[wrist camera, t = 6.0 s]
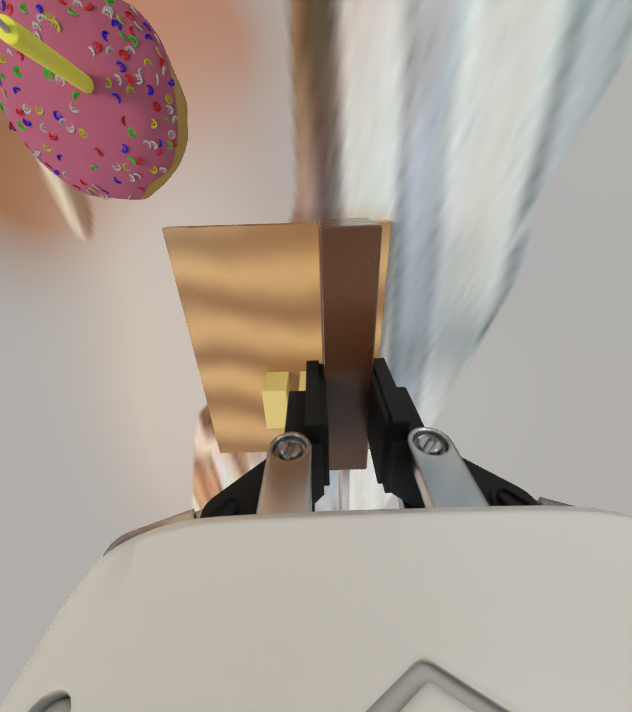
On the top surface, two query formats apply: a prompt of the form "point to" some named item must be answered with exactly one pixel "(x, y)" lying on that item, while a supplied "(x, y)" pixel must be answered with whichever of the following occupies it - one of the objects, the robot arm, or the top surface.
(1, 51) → the birthday cake
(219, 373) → the board
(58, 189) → the top surface
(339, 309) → the knife
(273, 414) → the butter pat
